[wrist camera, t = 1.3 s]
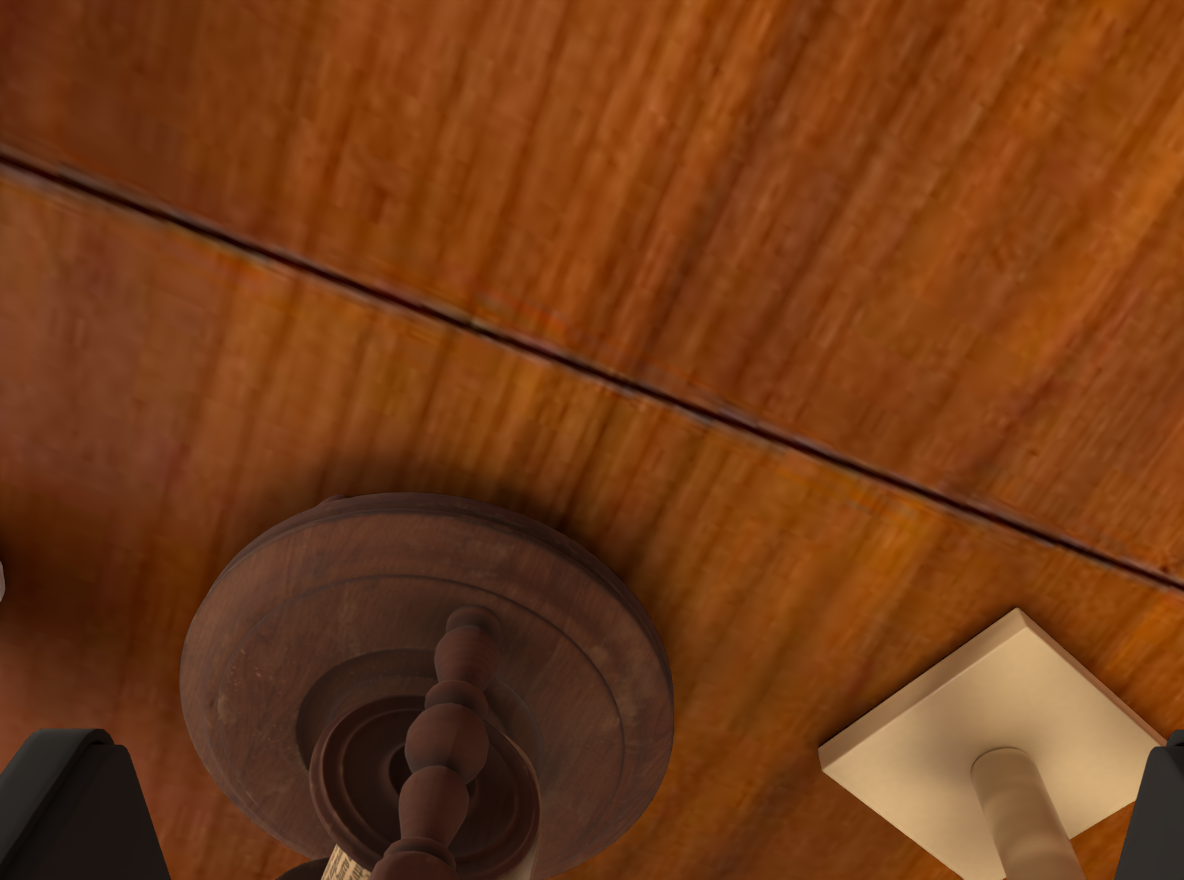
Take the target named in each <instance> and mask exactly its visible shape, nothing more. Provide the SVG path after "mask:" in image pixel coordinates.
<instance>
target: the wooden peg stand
mask: <svg viewBox="0 0 1184 880" xmlns="http://www.w3.org/2000/svg"><path fill="white" fill-rule="evenodd" d="M1166 744H1167V741H1166V740H1165V739H1164V738H1163V737H1162V736H1161V735H1160V734H1159V733H1157V732H1156V731H1155V730H1154V729H1153V728H1152V727H1151V726H1150V725H1149V724H1147V723H1146V722H1145V721H1144V720H1143V719H1142V718H1141V717H1140V716H1138V715H1137V714H1136V713H1135V712H1134V711H1133V710H1132V709H1131V708H1130V707H1128V706H1127V705H1126V704H1125V703H1124V702H1123V701H1122V700H1121V699H1120V698H1118V697H1117V696H1116V695H1115V694H1114V693H1113V692H1112V691H1111V690H1110V689H1108V688H1107V687H1106V686H1105V685H1104V684H1103V683H1102V682H1101V681H1099V680H1098V679H1097V678H1096V677H1095V676H1094V675H1093V674H1092V673H1091V672H1089V671H1088V670H1087V669H1086V668H1085V667H1084V666H1083V665H1082V664H1081V663H1079V662H1078V661H1077V660H1076V659H1075V658H1074V657H1073V656H1072V655H1071V654H1069V653H1068V652H1067V651H1066V650H1065V649H1064V648H1063V647H1062V646H1061V645H1059V644H1058V643H1057V642H1056V641H1055V640H1054V639H1053V638H1052V637H1050V636H1049V635H1048V634H1047V633H1046V632H1045V631H1044V630H1043V629H1042V628H1040V627H1039V626H1038V625H1037V624H1036V623H1035V622H1034V621H1033V620H1032V619H1030V618H1029V617H1028V616H1027V615H1026V614H1025V613H1024V612H1023V611H1022V610H1020V609H1019V608H1015V609H1013V610H1012V611H1011V612H1009V613H1008V614H1006V615H1005V616H1004V617H1002V618H1001V619H999V620H998V621H997V622H995V623H994V624H992V625H991V626H990V627H988V628H987V629H985V630H984V631H983V632H981V633H980V634H978V635H977V636H975V637H974V638H973V639H971V640H970V641H968V642H967V643H966V644H964V645H963V646H961V647H960V648H959V649H957V650H956V651H954V652H953V653H952V654H950V655H949V656H947V657H946V658H945V659H943V660H942V661H940V662H939V663H938V664H936V665H935V666H933V667H932V668H930V669H929V670H928V671H926V672H925V673H923V674H922V675H921V676H919V677H918V678H916V679H915V680H914V681H912V682H911V683H909V684H908V685H907V686H905V687H904V688H902V689H901V690H900V691H898V692H897V693H895V694H894V695H893V696H891V697H890V698H888V699H887V700H885V701H884V702H883V703H881V704H880V705H878V706H877V707H876V708H874V709H873V710H871V711H870V712H869V713H867V714H866V715H864V716H863V717H862V718H860V719H859V720H857V721H856V722H855V723H853V724H852V725H850V726H849V727H847V728H846V729H845V730H843V731H842V732H840V733H839V734H838V735H836V736H835V737H833V738H832V739H831V740H829V741H828V742H826V743H825V744H824V745H822V746H821V747H819V748H818V754H819V759H820V764H821V769H822V771H823V772H824V773H826V774H827V775H828V776H830V777H831V778H832V779H833V780H835V781H836V782H837V783H839V784H840V785H841V786H843V787H844V788H845V789H847V790H848V791H849V792H850V793H852V794H853V795H854V796H856V797H857V798H858V799H860V800H861V801H862V802H864V803H865V804H866V805H867V806H869V807H870V808H871V809H873V810H874V811H875V812H877V813H878V814H879V815H881V816H882V817H883V818H885V819H886V820H887V821H888V822H890V823H891V824H892V825H894V826H895V827H896V828H898V829H899V830H900V831H902V832H903V833H904V834H905V835H907V836H908V837H909V838H911V839H912V840H913V841H915V842H916V843H917V844H919V845H920V846H921V847H922V848H924V849H925V850H926V851H928V852H929V853H930V854H932V855H933V856H934V857H936V858H937V859H938V860H940V861H941V862H942V863H943V864H945V865H946V866H947V867H949V868H950V869H951V870H953V871H954V872H955V873H957V874H958V875H959V876H960V877H962V878H963V879H964V880H1002V879H1004V878H1006V877H1007V879H1008V880H1087V879H1086V877H1085V875H1084V872H1083V870H1082V868H1081V866H1080V863H1079V861H1078V859H1077V857H1076V854H1075V852H1074V850H1073V848H1072V845H1071V843H1070V841H1069V839H1071V838H1073V837H1074V836H1076V835H1078V834H1079V833H1081V832H1083V831H1084V830H1086V829H1088V828H1089V827H1091V826H1093V825H1094V824H1096V823H1098V822H1099V821H1101V820H1103V819H1105V818H1106V817H1108V816H1110V815H1111V814H1113V813H1115V812H1116V811H1118V810H1120V809H1121V808H1123V807H1125V806H1126V805H1128V804H1130V803H1131V802H1133V801H1135V800H1136V798H1137V795H1138V791H1139V787H1140V784H1141V780H1142V776H1143V773H1144V769H1145V765H1146V762H1147V758H1148V756H1149V753H1150V751H1151V750H1152V749H1153V748H1154V747H1155V746H1166Z"/></svg>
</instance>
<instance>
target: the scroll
mask: <svg viewBox="0 0 1184 880" xmlns="http://www.w3.org/2000/svg"><path fill="white" fill-rule="evenodd" d="M179 685H180V699H181V705H182V711H183V716H184V719H185V723H186V726H187V729H188V733H189V735H190V738H191V740H192V742H193V745H194V747H195V749H196V751H197V753H198V755H199V757H200V759H201V760H202V762H203V764H204V766H205V768H206V769H207V771H208V772H209V774H210V775H211V776H212V778H213V779H214V781H215V782H216V784H217V785H218V786H219V787H220V789H221V790H222V791H223V792H224V793H225V795H226V796H227V797H228V798H229V799H230V800H231V801H232V802H233V803H234V804H235V805H236V806H237V807H238V808H239V809H240V810H241V811H242V812H243V813H244V814H245V815H246V816H247V817H248V818H249V819H250V820H252V821H253V822H254V823H255V824H256V825H258V826H259V827H260V828H261V829H263V830H264V831H265V832H267V833H268V834H269V835H271V836H272V837H274V838H275V839H276V840H278V841H279V842H281V843H283V844H284V845H286V846H288V847H289V848H291V849H292V850H294V851H296V852H298V853H300V854H302V855H303V856H305V857H307V858H309V859H311V860H313V861H309V862H306V863H303V864H301V865H298V866H296V867H294V868H292V869H290V870H289V871H287V872H285V873H284V874H282V875H281V876H280V877H278V878H277V879H276V880H543V879H547V878H549V877H552V876H554V875H557V874H560V873H562V872H565V871H567V870H569V869H571V868H573V867H575V866H577V865H580V864H582V863H583V862H585V861H587V860H589V859H590V858H592V857H594V856H595V855H597V854H599V853H600V852H602V851H603V850H604V849H606V848H607V847H608V846H610V845H611V844H612V843H614V842H615V841H616V840H617V839H619V838H620V837H621V836H622V835H623V834H624V833H625V832H626V831H627V830H629V829H630V827H631V826H632V825H633V824H634V823H635V822H636V821H637V820H638V818H639V817H640V816H641V815H642V814H643V812H644V811H645V809H646V808H647V807H648V805H649V804H650V802H651V801H652V799H653V798H654V796H655V794H656V792H657V790H658V788H659V787H660V785H661V782H662V780H663V777H664V775H665V772H666V769H667V767H668V763H669V759H670V755H671V751H672V744H673V736H674V700H673V684H672V677H671V671H670V667H669V663H668V659H667V656H666V652H665V649H664V647H663V644H662V642H661V640H660V637H659V635H658V632H657V630H656V629H655V627H654V625H653V623H652V621H651V618H650V616H649V615H648V614H647V612H646V611H645V610H644V608H643V607H642V605H641V604H640V602H639V601H638V600H637V598H636V597H635V595H634V594H633V593H632V592H631V591H630V590H629V588H628V587H627V586H626V585H625V584H624V583H623V581H622V580H621V579H620V578H619V577H618V576H617V575H616V574H615V573H613V572H612V571H611V570H610V569H609V568H608V567H607V566H606V565H605V564H604V563H603V562H602V561H600V560H599V559H598V558H597V557H595V556H594V555H593V554H591V553H590V552H589V551H588V550H586V549H585V548H584V547H582V546H581V545H579V544H577V543H576V542H574V541H573V540H571V539H570V538H568V537H567V536H565V535H564V534H562V533H560V532H558V531H556V530H554V529H552V528H550V527H549V526H547V525H545V524H543V523H541V522H539V521H536V520H534V519H532V518H529V517H527V516H525V515H522V514H520V513H517V512H514V511H511V510H508V509H505V508H502V507H499V506H496V505H493V504H489V503H485V502H481V501H477V500H473V499H469V498H463V497H457V496H450V495H444V494H433V493H418V492H396V493H380V494H370V495H362V496H356V497H351V498H346V497H345V496H343V495H339V494H338V495H334V496H331V497H329V498H327V499H325V500H323V501H322V502H321V503H320V504H318V505H317V506H316V507H313V508H311V509H309V510H306V511H304V512H301V513H299V514H296V515H294V516H292V517H290V518H288V519H286V520H284V521H282V522H280V523H279V524H277V525H275V526H273V527H271V528H270V529H268V530H267V531H266V532H264V533H263V534H261V535H260V536H258V537H257V538H255V539H254V540H253V541H252V542H250V543H249V544H248V545H247V546H246V547H245V548H243V549H242V550H241V551H240V552H239V553H238V554H237V555H236V556H235V557H234V558H233V559H232V560H231V562H230V563H229V564H228V565H227V566H226V567H225V568H224V569H223V571H222V572H221V574H220V575H219V577H218V578H217V579H216V581H215V582H214V584H213V585H212V587H211V589H210V590H209V592H208V594H207V596H206V597H205V599H204V600H203V602H202V603H201V605H200V607H199V609H198V611H197V612H196V614H195V616H194V618H193V620H192V622H191V625H190V627H189V630H188V633H187V636H186V638H185V642H184V646H183V651H182V655H181V662H180V674H179Z"/></svg>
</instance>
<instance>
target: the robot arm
mask: <svg viewBox="0 0 1184 880" xmlns="http://www.w3.org/2000/svg"><path fill="white" fill-rule="evenodd" d="M0 880H171V878H170V875H169V872H168V869H167V866H166V863H165V860H164V857H163V854H162V851H161V848H160V845H159V842H158V839H157V836H156V833H155V830H154V827H153V824H152V821H151V818H150V814H149V811H148V808H147V805H146V802H145V799H144V796H143V793H142V790H141V787H140V784H139V781H138V778H137V775H136V772H135V769H134V766H133V763H132V760H131V757H130V754H129V752H128V750H127V748H125V747H124V746H123V745H114V742H113V740H112V738H111V736H110V734H109V733H107V732H106V731H105V730H104V729H40V730H38V731H36V732H34V733H32V734H31V735H30V736H29V738H28V739H27V740H26V741H25V742H24V743H23V745H22V746H21V747H20V749H19V750H18V752H17V753H16V754H15V756H14V757H13V758H12V760H11V761H10V763H9V764H8V765H7V767H6V768H5V769H4V771H3V772H2V774H1V775H0ZM1114 880H1184V729H1183V730H1176V731H1174V732H1173V733H1172V734H1171V735H1170V737H1169V739H1168V741H1167V744H1166V746H1155V747H1154V748H1153V749H1152V750H1151V751H1150V753H1149V756H1148V758H1147V762H1146V765H1145V769H1144V773H1143V776H1142V780H1141V784H1140V787H1139V791H1138V795H1137V798H1136V802H1135V805H1134V809H1133V813H1132V816H1131V820H1130V824H1129V827H1128V831H1127V835H1126V838H1125V842H1124V846H1123V849H1122V853H1121V856H1120V860H1119V864H1118V867H1117V871H1116V875H1115V878H1114Z"/></svg>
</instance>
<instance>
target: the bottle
mask: <svg viewBox="0 0 1184 880" xmlns="http://www.w3.org/2000/svg"><path fill="white" fill-rule="evenodd" d="M4 592H5V581H4V573H3V566H2V563H1V562H0V602H1V600H2V598H3V595H4Z"/></svg>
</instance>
